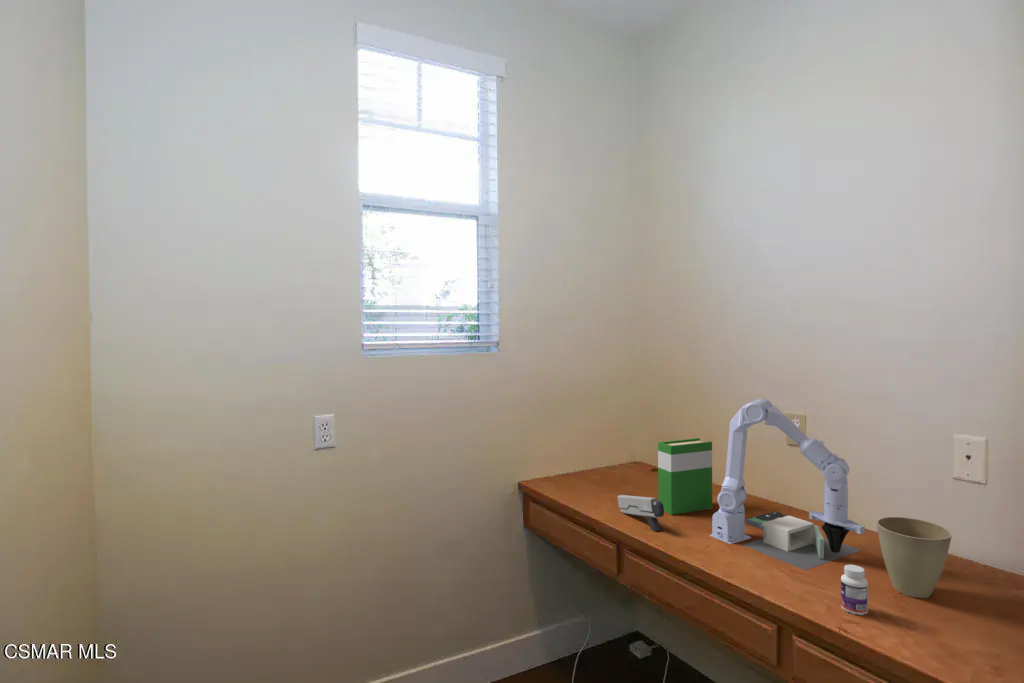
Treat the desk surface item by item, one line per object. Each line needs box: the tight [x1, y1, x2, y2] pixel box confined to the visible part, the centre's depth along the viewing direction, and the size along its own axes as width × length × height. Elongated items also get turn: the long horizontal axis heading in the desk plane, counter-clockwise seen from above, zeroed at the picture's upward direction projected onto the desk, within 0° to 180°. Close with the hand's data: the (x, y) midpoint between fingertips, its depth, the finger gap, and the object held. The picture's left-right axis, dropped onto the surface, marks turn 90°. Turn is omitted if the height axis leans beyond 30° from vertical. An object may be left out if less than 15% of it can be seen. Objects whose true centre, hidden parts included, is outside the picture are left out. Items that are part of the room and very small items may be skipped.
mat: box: [741, 536, 862, 571], centre depth 164 cm, size 26×20×1 cm
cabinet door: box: [814, 524, 827, 559], centre depth 161 cm, size 12×2×5 cm, turn 159°
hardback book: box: [657, 437, 713, 516], centre depth 201 cm, size 18×7×24 cm, turn 111°
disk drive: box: [745, 510, 790, 531], centre depth 183 cm, size 10×3×15 cm
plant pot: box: [876, 516, 953, 599], centre depth 137 cm, size 15×15×16 cm
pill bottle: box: [840, 564, 869, 616], centre depth 129 cm, size 5×5×10 cm
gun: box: [617, 494, 665, 532], centre depth 188 cm, size 2×25×10 cm, turn 21°
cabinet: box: [762, 515, 815, 551], centre depth 168 cm, size 12×8×6 cm, turn 119°
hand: (835, 551), depth 156 cm, fingers closed
